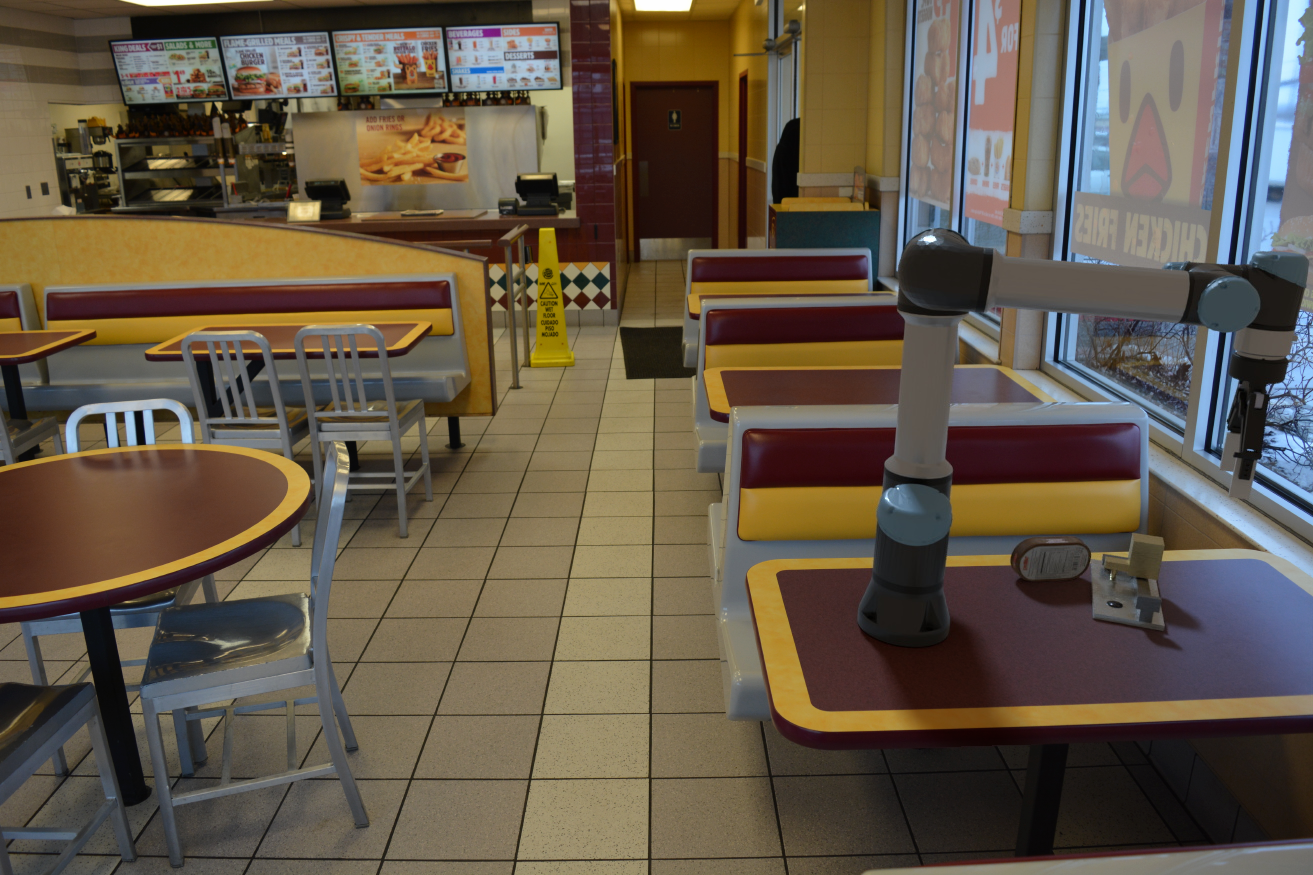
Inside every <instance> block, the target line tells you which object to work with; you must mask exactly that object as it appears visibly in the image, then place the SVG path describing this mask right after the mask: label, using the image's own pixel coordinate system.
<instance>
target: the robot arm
mask: <svg viewBox="0 0 1313 875" xmlns="http://www.w3.org/2000/svg"><path fill="white" fill-rule="evenodd" d="M1309 266H1310V260H1309V259H1308V256H1306V255H1304V254H1301V253H1296V252H1288V251H1278V250H1277V251H1275V250H1273V251H1272V250H1269V251H1264V250H1260V251H1256V252H1254V253H1253V254H1252V256H1251V259H1250V260H1249V262H1248V263H1244V264H1232V263H1231V264H1230V263H1229V264H1228V263H1213V262H1212V263H1211V262H1194V261H1190V260H1187V261H1170V262H1167V263H1165V264H1164V265H1163V267H1162V268H1156V267H1154V268H1153V267H1141V266H1129V265H1118V264H1116V265H1115V264H1104V263H1094V262H1093V263H1092V262H1083V261H1082V262H1079V261H1077V262H1076V261H1068V260H1056V259H1045V258H1030V257H1019V256H1018V257H1017V256H1005V255H1002V254H1001V253H1000V252H999V251H998V249H996V248H995V247H994V248H993V247H983V246H982V247H981V246H978V245H972V244H971V243H970V242H969V240H968V239H967V238H966V237H965V236H964V235H962V234H961V233H960V232H958V231H956V230H953V229H951V228H944V227H931V228H927V229H924V230H922V231H920V232H918V233H916V234H914V236H912V237H911V238H910V239H909V240H908V242H906V244H905V246H904V247H903V249H902V252H901V255H900V259H899V262H898V265H897V281H898V292H897V303H896V304H897V305H896V310H897V313H899V315H900V316H901V317H902V318H903V319H904V332H903V333H904V334H903V344H902V345H903V346H902V356H901V357H902V358H901V368H900V379H899V380H900V382H899V392H898V393H899V394H898V395H899V396H898V406H897V417H896V418H897V419H896V430H895V439H894V440H895V441H894V442H895V443H894V453H893V454H892V455H891V456H890V457H888V458H887V459H886V460H885V461H884V466H883V467H884V468H883V479H882V481H883V482H882V490H881V496H880V498H879V502H878V504H877V508H876V519H877V520H876V529H875V540H874V551H873V560H872V570H871V571H872V572H871V579H870V582H869V583H868V585H867V587H866V589H865V592H864V594H863V596H862V598H861V600H860V602H859V604H858V610H857V619H856V620H857V623H858V626H859V627H860V629H862V631H864V633H865V634H867V635H868V636H870V637H872V638H874V639H876V640H877V641H878V640H879V641H880V642H884V643H886V644H890V645H895V646H899V647H900V646H901V647H907V648H921V647H922V648H923V647H929V646H934V645H937V644H939V643H941V642H943V641H945V639H947V637H948V635H949V633H950V626H951V625H950V624H951V616H950V613H949V608H948V605H947V601H946V595H945V592H944V591H945V590H944V582H945V575H946V574H945V573H946V567H947V558H948V549H949V540H950V534H951V527H952V525H953V512H952V511H953V509H952V508H953V507H952V504H951V493H952V492H951V491H952V485H953V484H952V482H953V471H954V469H953V466H952V465H951V463H950V462H949V461H948V460H947V459H946V452H947V451H946V450H947V441H948V429H949V423H950V422H949V421H950V413H951V400H952V392H953V382H954V381H953V379H954V370H955V360H956V351H957V350H956V349H957V340H958V333H959V332H958V331H959V330H958V329H959V324H960V322H961V321H963V320H964V319H965V318H966V317H967V316H968V315H970V312H971V313H985V314H986V313H988V312H989V311H991V309H993V308H1002V309H1003V308H1005V309H1014V310H1026V311H1035V312H1036V311H1037V312H1046V313H1047V312H1048V313H1049V312H1050V313H1059V314H1061V313H1062V314H1069V315H1071V314H1072V315H1082V316H1093V317H1095V316H1096V317H1103V318H1104V317H1105V318H1113V319H1114V318H1115V319H1125V320H1126V319H1128V320H1138V321H1149V322H1150V321H1151V322H1160V323H1171V324H1181V325H1185V326H1186V325H1188V326H1199V327H1206V329H1210V330H1212V331H1214V332H1219V333H1225V334H1226V333H1227V334H1228V333H1234V332H1235V337H1234V341H1233V342H1234V343H1233V346H1232V348H1233V349H1234V352H1233V353H1232V354H1231V357H1230V358H1231V359H1230V363H1229V368H1228V375H1229V377H1231V378H1233V379H1235V380H1238V382H1237V387H1236V389H1235V390H1236V391H1235V393H1234V396H1233V400H1232V404H1231V407H1230V410H1229V414H1228V416H1227V418H1226V421H1225V422H1226V425H1227V426H1226V429H1227V431H1226V434H1225V439H1224V444H1223V449H1222V452H1221V457H1220V458H1221V459H1220V463H1219V467H1218V468H1219V471H1225V472H1231V473H1232V475H1231V480H1230V485H1229V490H1228V498H1234V499H1240V500H1241V499H1242V500H1247V501H1248V500H1250V498H1251V497H1250V496H1251V492H1252V486H1253V483H1254V479H1255V478H1254V477H1255V473H1256V468H1257V465H1258V464H1257V463H1258V461H1259V460H1261V459H1262V458H1263V454H1262V453H1263V446H1264V437H1265V429H1266V423H1267V422H1266V421H1267V414H1268V407H1269V404H1270V400H1271V397H1270V396H1271V395H1270V393H1267V386H1268V385H1270V384H1271V385H1277V384H1278V385H1279V384H1281V383H1283V382H1284V381H1285V379H1286V377H1287V376H1286V375H1287V371H1288V368H1289V367H1288V366H1289V362H1290V361H1289V359H1288V358H1287V356H1289V355H1291V351H1292V346H1293V344H1292V343H1293V342H1298V340H1299V336H1298V335H1296V334H1295V332H1296V329H1297V323H1298V321H1299V320H1298V319H1299V315H1300V312H1301V308H1302V302H1303V298H1304V296H1305V290H1306V289H1307V283H1308V282H1307V281H1308V275H1309Z"/></svg>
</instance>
